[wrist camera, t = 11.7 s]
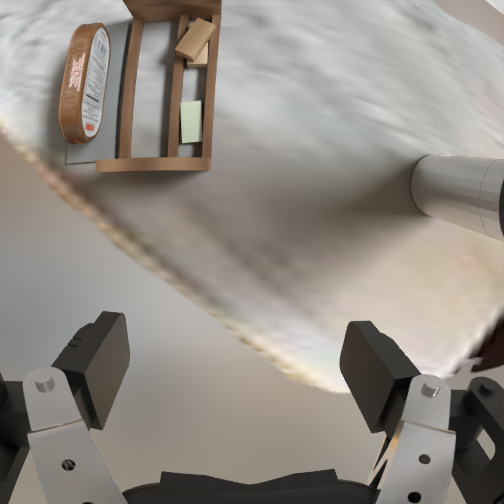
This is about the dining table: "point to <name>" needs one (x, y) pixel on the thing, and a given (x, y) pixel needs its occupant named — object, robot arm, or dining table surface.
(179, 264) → the dining table surface
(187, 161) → the rack
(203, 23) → the offcut oak
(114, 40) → the felt mat
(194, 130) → the offcut sage
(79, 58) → the tin
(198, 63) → the offcut maple
